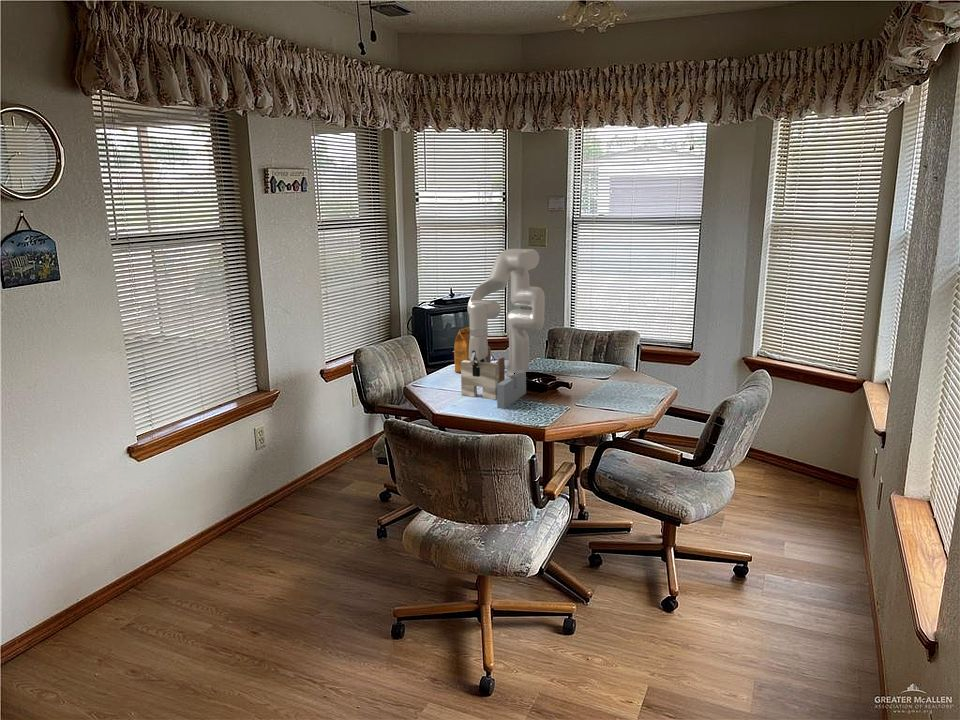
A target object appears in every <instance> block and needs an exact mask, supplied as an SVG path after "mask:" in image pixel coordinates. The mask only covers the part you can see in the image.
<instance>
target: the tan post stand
mask: <svg viewBox="0 0 960 720" xmlns="http://www.w3.org/2000/svg"><path fill="white" fill-rule="evenodd" d="M491 357H492V356H491V346H489V345H488V356H487V359H486V362H487V363H492V361H491V359H492V358H491ZM505 359H506V358H505V357H500V358H499V359H498V360H497V361H496V362H495V363H497V364H498V384H499V383H500V382H502V381H503V380H505V379H506V378H505V377H506V372H505V371H506V369H505V365H506V364H505Z"/></svg>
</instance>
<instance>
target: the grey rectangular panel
mask: <svg viewBox="0 0 960 720" xmlns="http://www.w3.org/2000/svg"><path fill="white" fill-rule="evenodd" d="M526 394H527V377H526V371H520V370H519V371H518V372H516V373H515V374H513V375H511V377H510V378H505V380H503V381H502V382H500V383H499V384H497V399H496V403H497V404H496V405H497V406H496V407H497V409H499V408H501V410H505V409H506V408H508V407H509V406H510V405H512V404H513V403H515V402H516V401H517V400H519V399H520V398H522V397H523V396H524V395H526Z"/></svg>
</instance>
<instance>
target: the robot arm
mask: <svg viewBox="0 0 960 720" xmlns="http://www.w3.org/2000/svg"><path fill="white" fill-rule="evenodd" d="M539 262H540V254H539V252H538V251H537V250H536V249H533V248H507V249H505V250H503V251H502V252H499V253H498V254H497V256H496V257H495V260H494V263H493V265H492V268H491V271H490V273H489V276H488V278H487V279H485V280H484V281H482V282H481V283H480V284H478V286H476V287H475V288H474V289H473V291H472V293H471V295H470V298H469V299H468V304H467V313H468V317H469V319H468V320H469V327H470V341H469V360H470V362H471V364H472V368H473V376H476V377H479V376H480V367H479V362H486V359H487V356H488V346H489V345H488V344H489V343H488V334H489V332H488V329H489V328H488V326H489V325H488V323H489V322H488V320H489V319H496V318H498V317H499V315H500V314H501V313H502V312H501V311H502V307H501V304H500V303H499V302H498V301H495V300H488V299H487V300H486V299H484V298H485V297H486V296H489V295H490V294H493V293H496V292H498V291H502V290H503V289H505V288H506V287H507V285H508V282H509V280H510V301H511V302H510V303H511V304H512V305H513V306H516V307H524V308H531V309H522V308H521V309H520V308H518V309H517V308H515V309H514V308H513V309H512V310H510V311H508V313H507V316H506V324H507V328H508V348H509V349H508V358H509V359H508V361H509V362H508V365H509V366H508V367H509V369H508V370H507V371H506V372H505V376H507V377H510V378H511V375H513V374H514V373H515V372H518V371H519V370H520V371H526V372H529V371H531V370H530V367H531V363H530V337H529V335H528V333H527V331H529V332H530V331H531V332H538V331H541V330H542V329H543V327H544V324H545V306H546V305H545V304H546V303H545V300H546V298H545V292H544V290H543V289H542V288H541V287H540V286H531V285H530V274H529V271H530V270H533V269H535V268H537V266H538V264H539ZM475 359H477V360H475ZM475 361H476V362H477V363H476V362H475Z"/></svg>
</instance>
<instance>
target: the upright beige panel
mask: <svg viewBox="0 0 960 720" xmlns="http://www.w3.org/2000/svg"><path fill="white" fill-rule="evenodd" d="M475 362H476V361H475ZM476 363H477V362H476ZM479 367H480V376H479V377H476V376H473V368H472V364H471V362H470V361H466V360H464V361H462V362H461V373H460V379H461V381H460V383H461V389H460V390H461V396H462V397H469V398H475V397H477V395H478V392H477V391H478V388H477V387H479V388H480V387H481V388H482V399H487V400H493V401H494V400H496V401H497V384H498V364H497V363H496V362H491V363H487V362H479Z"/></svg>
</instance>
